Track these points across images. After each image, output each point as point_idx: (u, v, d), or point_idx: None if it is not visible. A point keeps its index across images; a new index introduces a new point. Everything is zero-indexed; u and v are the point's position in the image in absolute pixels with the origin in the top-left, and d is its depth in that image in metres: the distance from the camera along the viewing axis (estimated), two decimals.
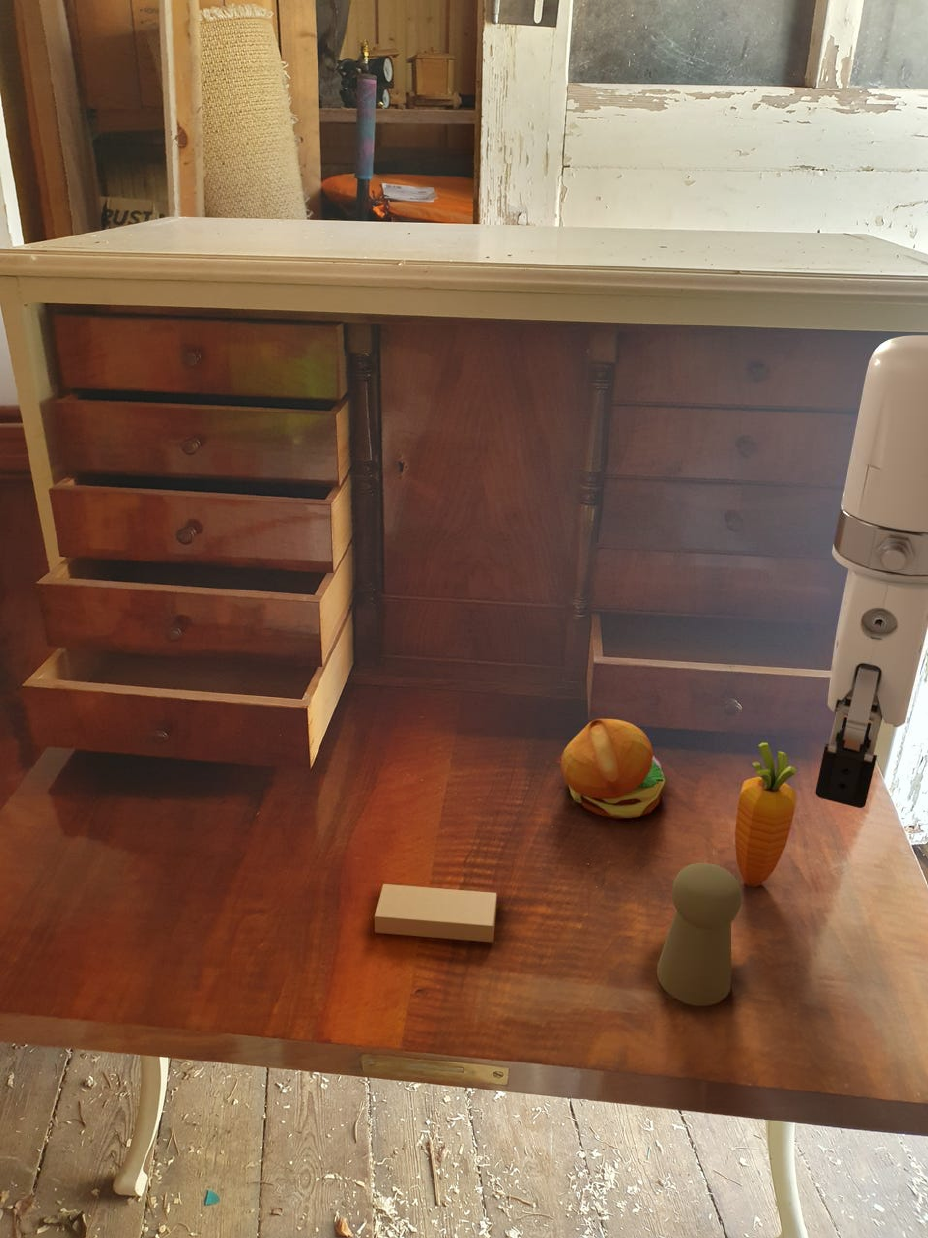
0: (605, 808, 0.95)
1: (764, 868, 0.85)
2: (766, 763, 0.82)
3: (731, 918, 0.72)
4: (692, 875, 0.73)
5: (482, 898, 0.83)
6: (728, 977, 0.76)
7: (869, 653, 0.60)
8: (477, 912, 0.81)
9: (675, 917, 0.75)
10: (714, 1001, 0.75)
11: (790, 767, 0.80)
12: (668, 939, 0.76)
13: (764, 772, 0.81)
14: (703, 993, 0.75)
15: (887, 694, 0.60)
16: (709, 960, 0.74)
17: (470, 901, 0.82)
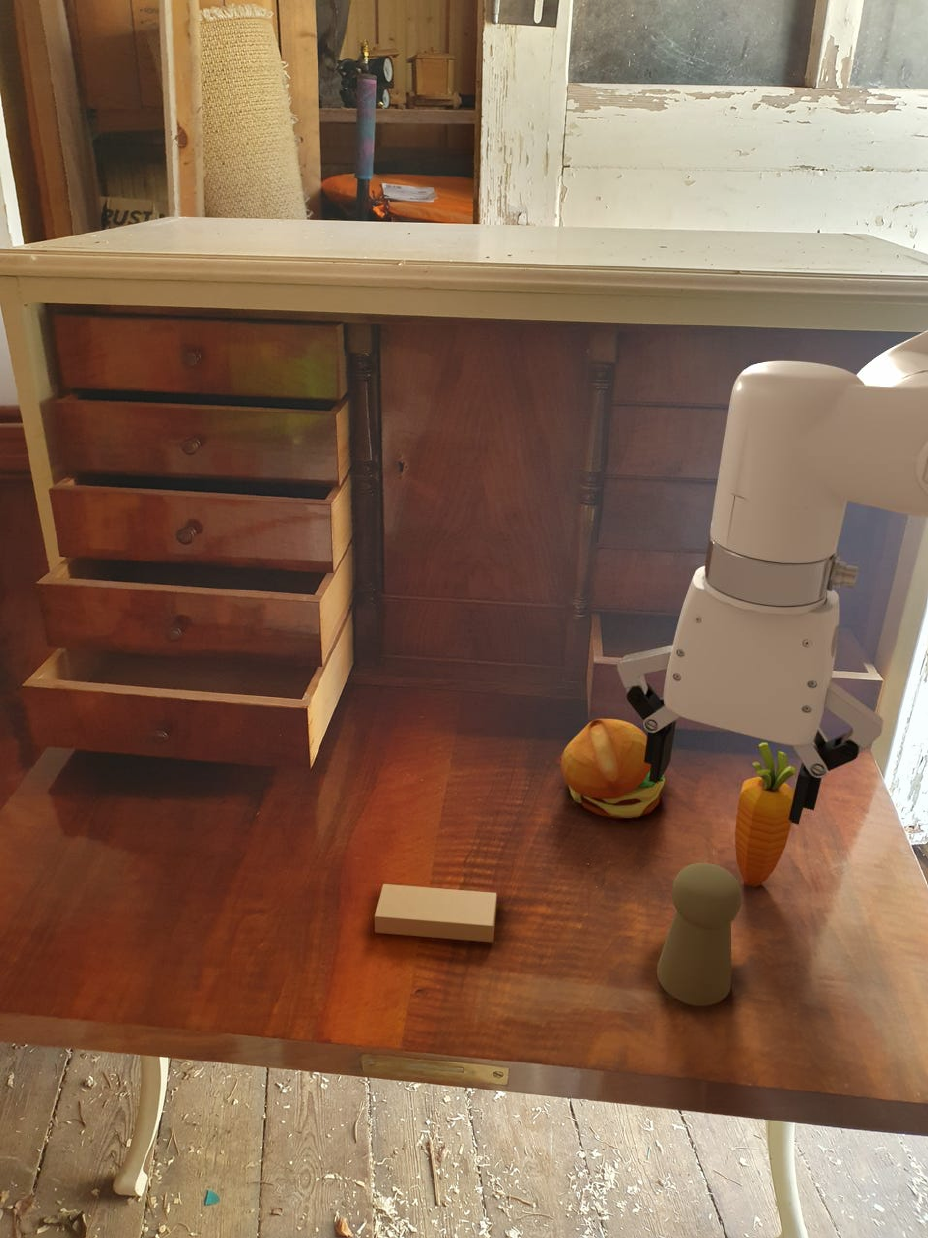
0: (605, 808, 0.95)
1: (764, 868, 0.85)
2: (766, 763, 0.82)
3: (731, 918, 0.72)
4: (692, 875, 0.73)
5: (482, 898, 0.83)
6: (728, 977, 0.76)
7: (831, 670, 0.60)
8: (477, 912, 0.81)
9: (675, 917, 0.75)
10: (714, 1001, 0.75)
11: (790, 767, 0.80)
12: (668, 939, 0.76)
13: (764, 772, 0.81)
14: (703, 993, 0.75)
15: None
16: (709, 960, 0.74)
17: (470, 901, 0.82)
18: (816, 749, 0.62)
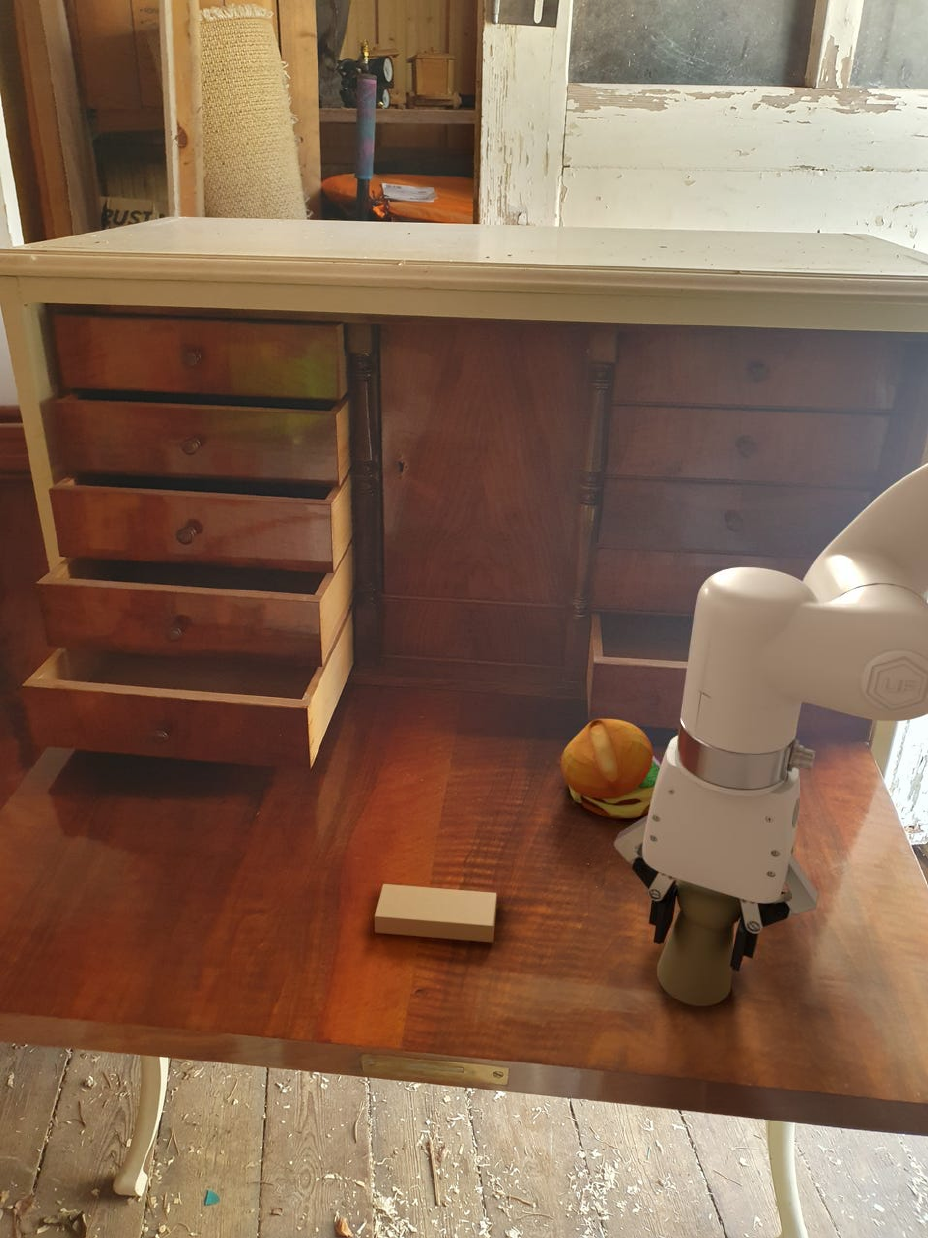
0: (605, 808, 0.95)
1: None
2: None
3: (736, 920, 0.72)
4: None
5: (482, 898, 0.83)
6: (729, 977, 0.76)
7: (793, 837, 0.66)
8: (477, 912, 0.81)
9: (679, 917, 0.75)
10: (715, 1001, 0.75)
11: None
12: (670, 938, 0.76)
13: None
14: (704, 993, 0.75)
15: None
16: (711, 961, 0.74)
17: (470, 901, 0.82)
18: (759, 911, 0.69)
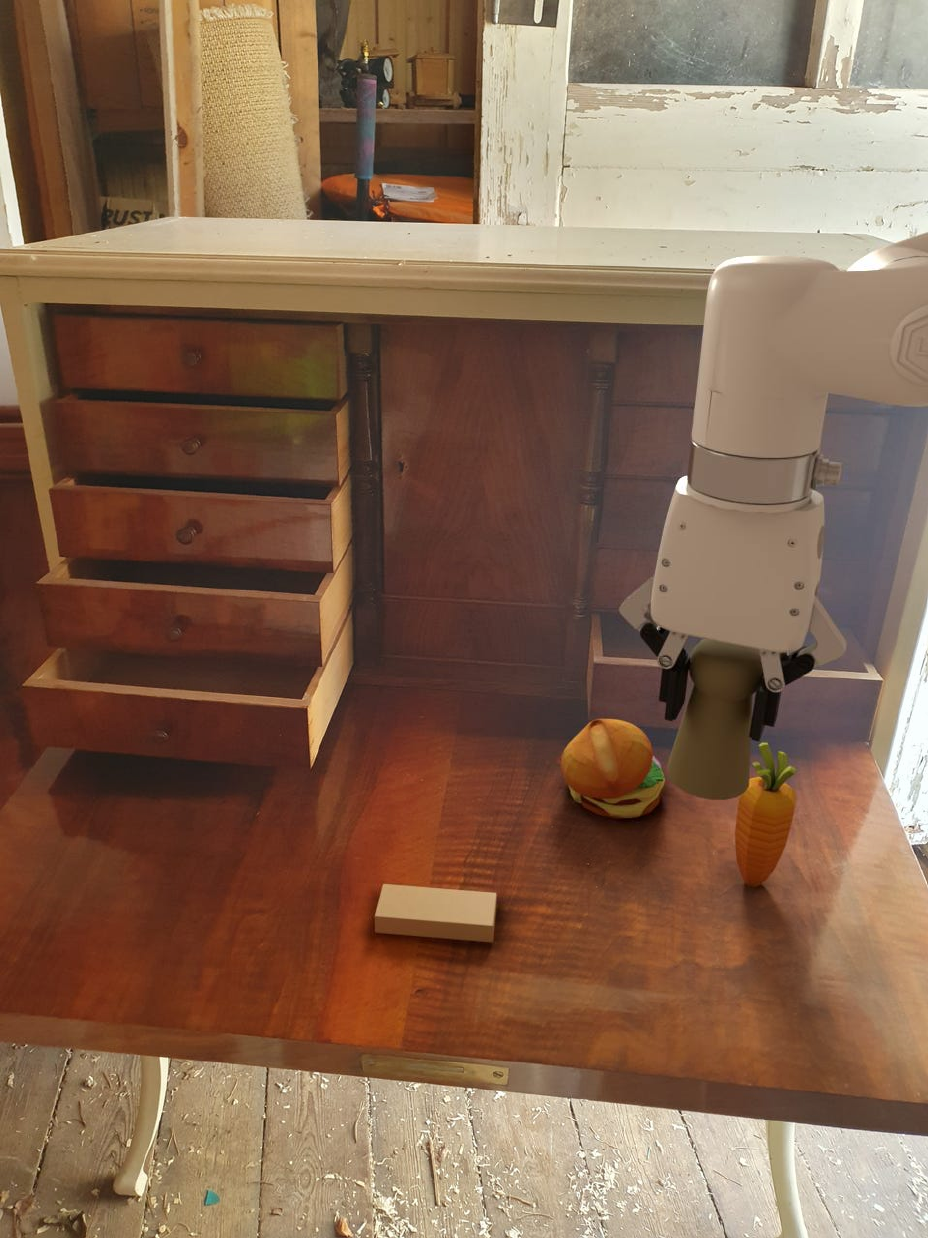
0: (605, 808, 0.95)
1: (764, 868, 0.85)
2: (766, 763, 0.82)
3: (754, 687, 0.66)
4: (712, 643, 0.67)
5: (482, 898, 0.83)
6: (748, 762, 0.69)
7: (818, 573, 0.60)
8: (477, 912, 0.81)
9: (691, 694, 0.68)
10: (732, 787, 0.69)
11: (790, 767, 0.80)
12: (683, 721, 0.69)
13: (764, 772, 0.81)
14: (721, 777, 0.68)
15: None
16: (728, 738, 0.67)
17: (470, 901, 0.82)
18: (781, 664, 0.62)
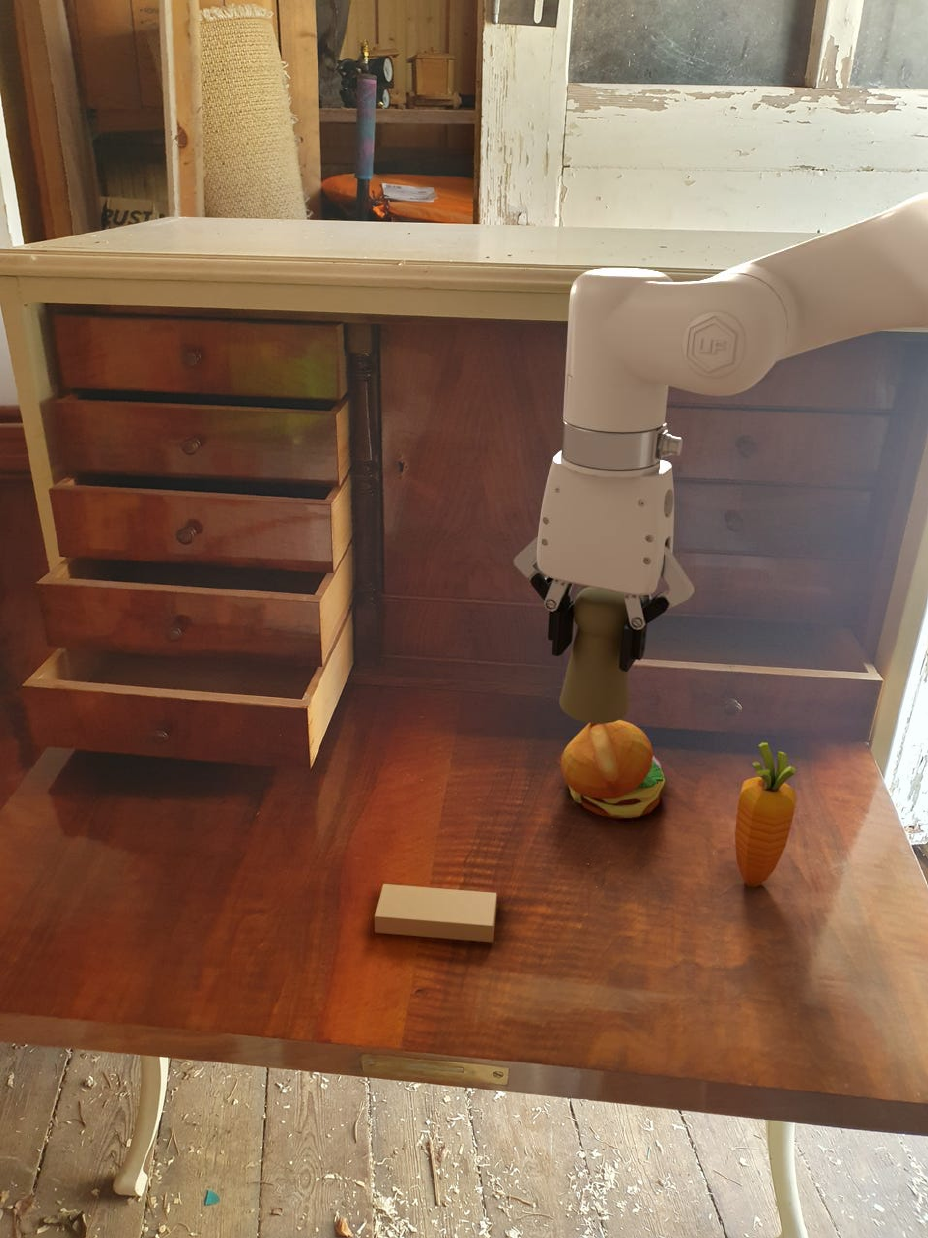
0: (605, 808, 0.95)
1: (764, 868, 0.85)
2: (766, 763, 0.82)
3: None
4: (591, 590, 0.80)
5: (482, 898, 0.83)
6: (624, 693, 0.82)
7: (667, 529, 0.73)
8: (477, 912, 0.81)
9: (576, 634, 0.81)
10: (610, 713, 0.82)
11: (790, 767, 0.80)
12: (570, 658, 0.82)
13: (764, 772, 0.81)
14: (599, 704, 0.81)
15: (670, 552, 0.75)
16: (605, 670, 0.80)
17: (470, 901, 0.82)
18: (641, 606, 0.75)
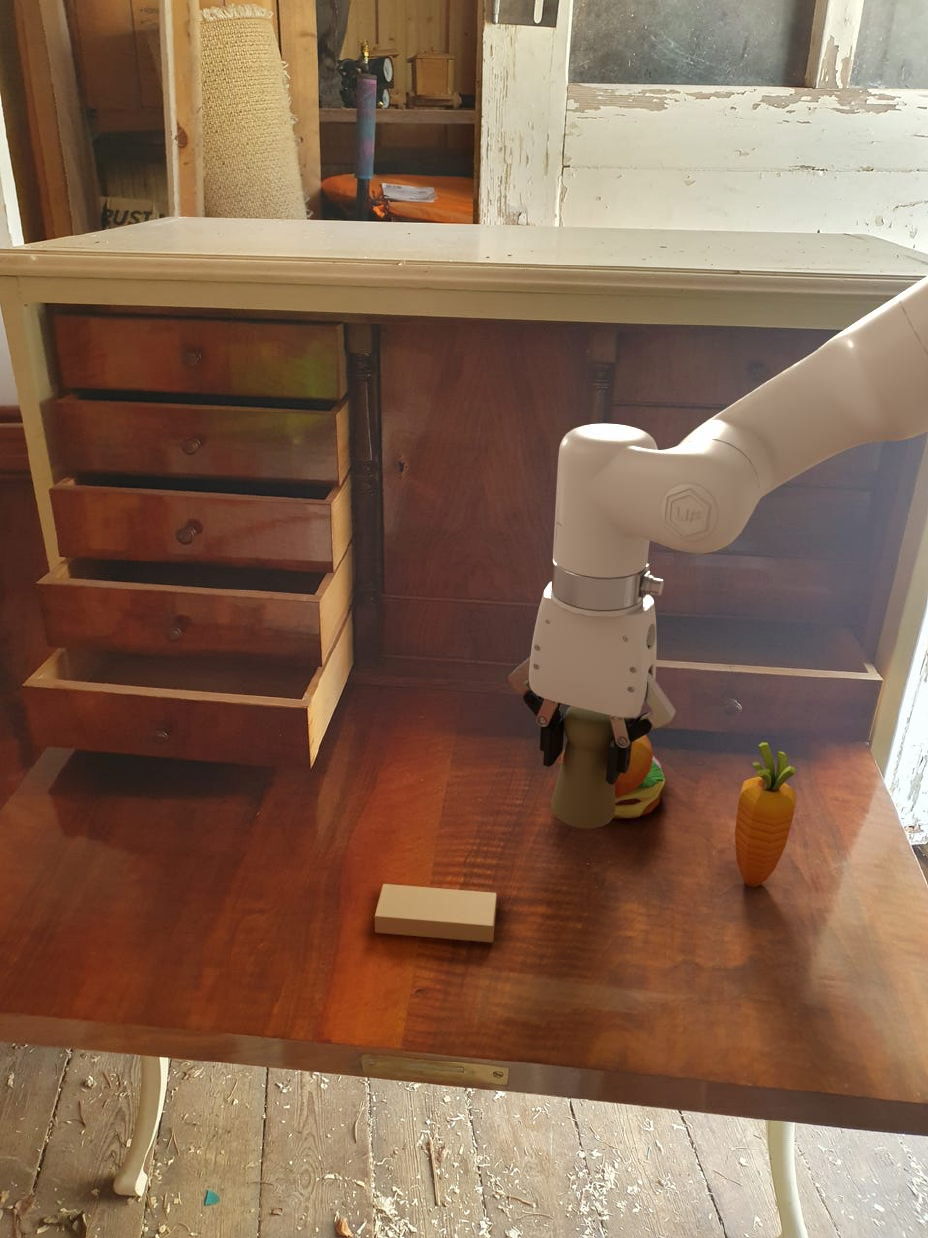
0: None
1: (764, 868, 0.85)
2: (766, 763, 0.82)
3: None
4: None
5: (482, 898, 0.83)
6: (611, 799, 0.87)
7: (650, 659, 0.78)
8: (477, 912, 0.81)
9: (566, 745, 0.87)
10: (598, 818, 0.87)
11: (790, 767, 0.80)
12: (561, 766, 0.88)
13: (764, 772, 0.81)
14: (588, 810, 0.87)
15: (653, 677, 0.81)
16: (593, 780, 0.85)
17: (470, 901, 0.82)
18: (626, 727, 0.81)
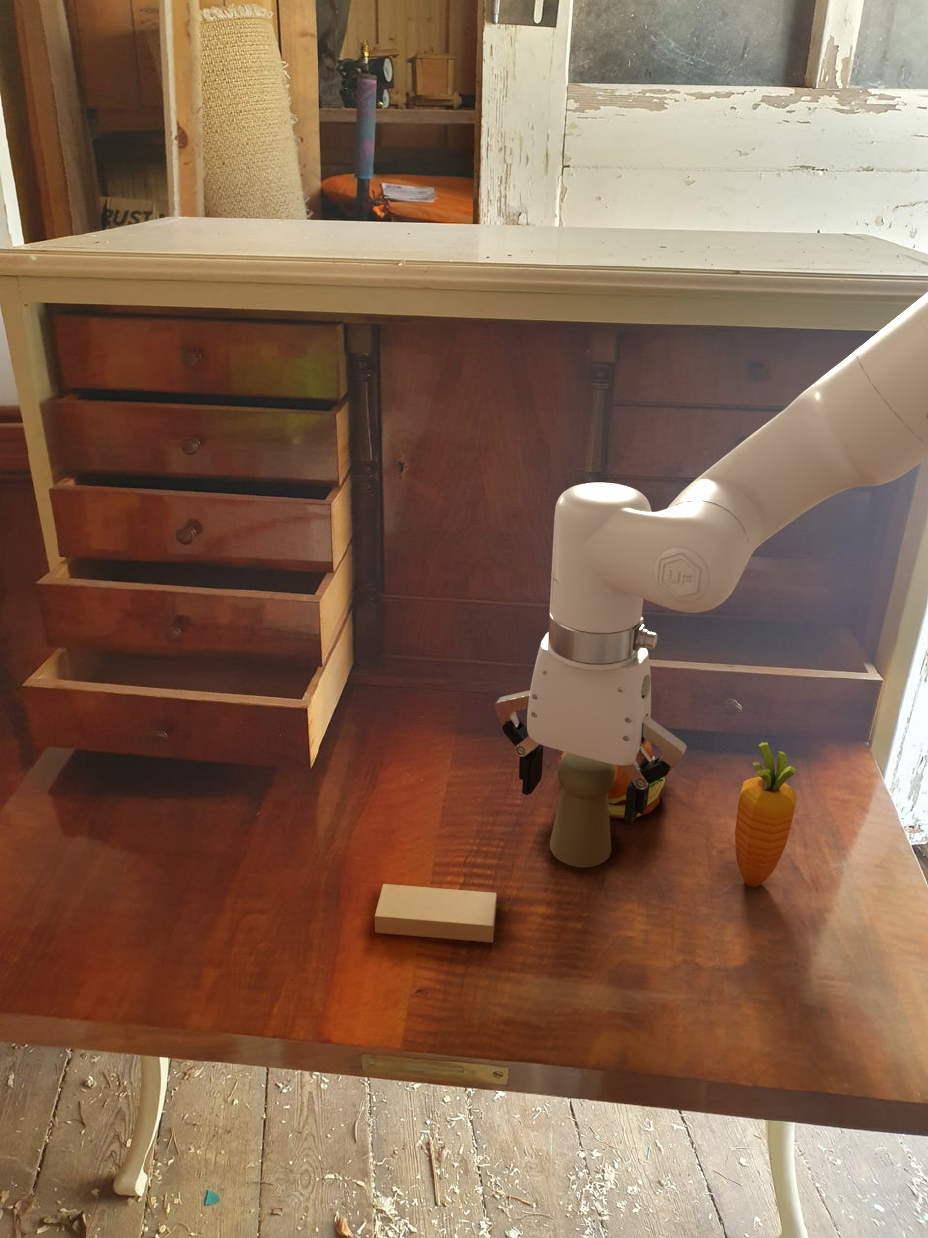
0: None
1: (764, 868, 0.85)
2: (766, 763, 0.82)
3: (604, 790, 0.86)
4: (573, 755, 0.87)
5: (482, 898, 0.83)
6: (606, 844, 0.90)
7: (645, 709, 0.80)
8: (477, 912, 0.81)
9: (561, 793, 0.89)
10: (594, 864, 0.89)
11: (790, 767, 0.80)
12: (557, 813, 0.90)
13: (764, 772, 0.81)
14: (584, 856, 0.89)
15: None
16: (588, 827, 0.88)
17: (470, 901, 0.82)
18: (638, 768, 0.82)
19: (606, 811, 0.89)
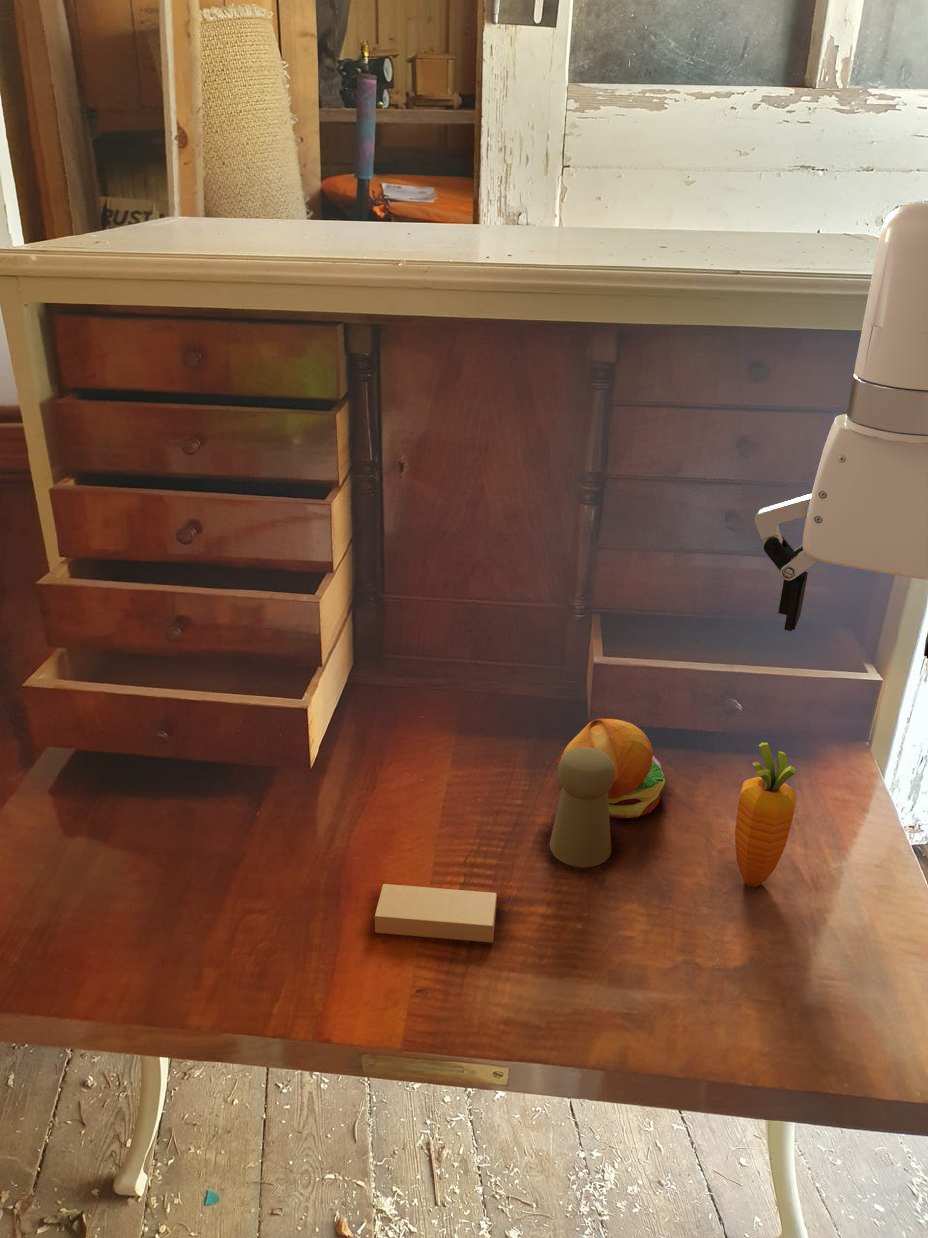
0: None
1: (764, 868, 0.85)
2: (766, 763, 0.82)
3: (604, 789, 0.86)
4: (573, 755, 0.87)
5: (482, 898, 0.83)
6: (606, 844, 0.90)
7: None
8: (477, 912, 0.81)
9: (561, 793, 0.89)
10: (594, 864, 0.89)
11: (790, 767, 0.80)
12: (557, 813, 0.90)
13: (764, 772, 0.81)
14: (584, 856, 0.89)
15: None
16: (588, 827, 0.88)
17: (470, 901, 0.82)
18: None
19: (606, 811, 0.89)
